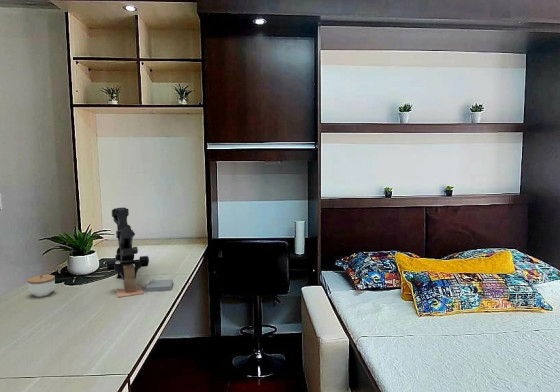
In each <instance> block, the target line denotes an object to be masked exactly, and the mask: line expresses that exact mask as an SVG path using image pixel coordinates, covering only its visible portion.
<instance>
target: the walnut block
mask: <svg viewBox="0 0 560 392" xmlns="http://www.w3.org/2000/svg"><path fill="white" fill-rule="evenodd" d="M123 273H124V280H123V288H125V290H127V289H134V288H135V287H136V278H135V264H133V265H128V266H123Z"/></svg>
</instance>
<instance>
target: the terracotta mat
mask: <svg viewBox="0 0 560 392" xmlns="http://www.w3.org/2000/svg"><path fill="white" fill-rule="evenodd" d="M144 293H145V292H144V290H143V289H142V286H141V285H138V286H135V288H134V289H127V290H125V288H124V287H123V288H116V295H117V298H124V297H125V298H126V297H132V296H138V295H144Z"/></svg>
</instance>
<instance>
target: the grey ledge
mask: <svg viewBox="0 0 560 392" xmlns="http://www.w3.org/2000/svg"><path fill="white" fill-rule="evenodd" d="M173 280H174V279H173V278H171V279H169V278H168V279H152V280H151V279H149V282H148V283H147V285H146V287H145V288H146V289H145V292H147V291H149V292H163V291H164V292H169V291H171V289H172V287H173V284H174V281H173Z"/></svg>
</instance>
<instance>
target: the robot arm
mask: <svg viewBox="0 0 560 392" xmlns="http://www.w3.org/2000/svg"><path fill="white" fill-rule="evenodd" d="M129 212H130V211H129V208H127V207H125V206H124V207H116V208H113V209H111V217H112V218H113V220H112V221H113V222H114V223H115V224H116V232H115V235H116V236H115V238H116V239H117V241H118V248H117V250H116V254H115V256H114V258H111V259H107V260H106V261H105V263H106V264H105V265H106V266H105V270H106V271H114V272H117V274H116V275H117V276H116V279H122V280H123V281H124V273H123V266H128V265H134V267H135V279H136V278H137V274H138V271H139V269H142V268H143V267H148V266H149V262H150V259H149V256H148V255H140V256H139V258H138V259H135V255H137V254H138V253H139V252H138V251H139V249H138V246H133V239H134V237H135V235H136V233H135V231H133V229H132V226H131V225H129V224H128V217H129V215H130V213H129Z"/></svg>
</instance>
